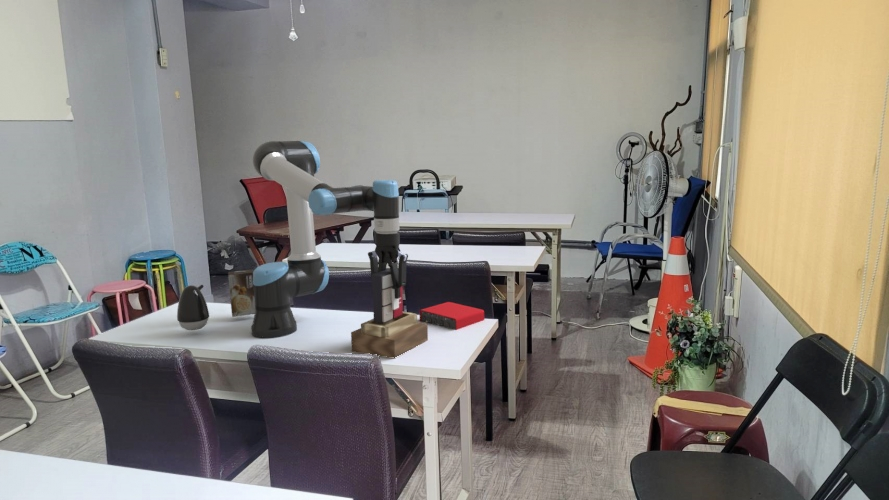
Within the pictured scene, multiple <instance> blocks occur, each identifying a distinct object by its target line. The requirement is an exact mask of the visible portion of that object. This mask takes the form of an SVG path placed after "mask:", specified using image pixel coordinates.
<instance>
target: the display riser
mask: <svg viewBox="0 0 889 500" xmlns="http://www.w3.org/2000/svg"><path fill="white" fill-rule="evenodd" d="M428 332H429V331H428V323H424V322H418V313H413V312H407V311H403V314H402V315H401V316H399V317H397V318H394V319H392V320H390V321H388V322H385V323H383V324H379V323H375V322H374V318H372V319H369V320H367V321H364V322H362V323H360V328H358V329H356V330H353V331H351V332H350V336H351V337H350V339H351V352H353V353H359V354H364V353H370V354H377V355H380V356H379V357H382V356H387V357H386V358H389V357H394V358H393V359H396V358H395V357H397V356H399V355H401V354H402V355H404V354H406V353H408V352H409V350H410V351H412V350H413V349H415V348H417V347H418V345H419V346H420V345H422V344H424V343H426V342H427V341H428V340H429V339H428V337H429V333H428ZM416 346H417V347H416ZM407 351H408V352H407ZM405 352H406V353H405ZM403 353H404V354H403ZM370 354H369V355H370ZM402 355H401V356H402ZM399 357H400V356H399ZM397 358H398V357H397Z"/></svg>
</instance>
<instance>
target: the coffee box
mask: <svg viewBox="0 0 889 500" xmlns="http://www.w3.org/2000/svg"><path fill="white" fill-rule="evenodd" d="M253 272H254V270H253V269H246V270H236V271H234V270H232V271H228V272H227V276H228V278H227V279H228V285H229V287H228V288H229V297H230V309H231V310H230V311H231V316H232V317H233V318H234V317H242V316H243V317H244V316H249V315H255V299H254V286H253Z"/></svg>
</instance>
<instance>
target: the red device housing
mask: <svg viewBox="0 0 889 500" xmlns="http://www.w3.org/2000/svg"><path fill="white" fill-rule="evenodd" d="M482 321H485V311H484V309H481V308H476V307H473V306H468V305H463V304H460V303H455V302H452V301H451V302H450V301H446V302H444V303H440V304H435V305H433V306H429V307H426V308H423V309H419V322H423V323H424V322H425V323H427V324H432V325H435V326H436V325H437V326H440V327H444V328H446V329H447V328H448V329H449V328H451V329H455V330H456V331H457V330H460V329H464V328H467V327H468V326H472V325H474V324H477V323H479V322H480V323H481V322H482Z"/></svg>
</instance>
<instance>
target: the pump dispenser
mask: <svg viewBox="0 0 889 500" xmlns="http://www.w3.org/2000/svg"><path fill="white" fill-rule="evenodd" d="M203 288H204V284H200V285H199V286H196V285H193V284H191V285H187V286H185V287H184V288H183V289H182V291H181V294H180V296H179V299H178V303H177V311H176V312H177V313H176V314H177V315H176V318H177V322H178V323H179V325H180V327H181V328H182V329H184V330H186V331H197V330H200V329H203V328H204V327H205V326H206V325H207V324H208V321H209V317H210V312H209V307H208V304H207V301H206V299H205V296H204V294H203V293H202V291H201V290H203Z"/></svg>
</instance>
